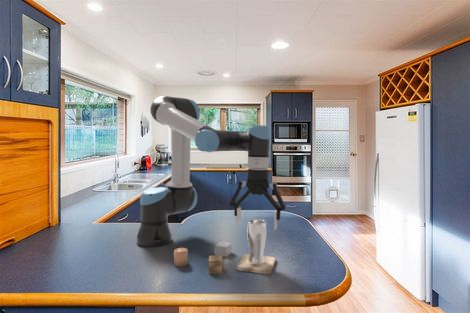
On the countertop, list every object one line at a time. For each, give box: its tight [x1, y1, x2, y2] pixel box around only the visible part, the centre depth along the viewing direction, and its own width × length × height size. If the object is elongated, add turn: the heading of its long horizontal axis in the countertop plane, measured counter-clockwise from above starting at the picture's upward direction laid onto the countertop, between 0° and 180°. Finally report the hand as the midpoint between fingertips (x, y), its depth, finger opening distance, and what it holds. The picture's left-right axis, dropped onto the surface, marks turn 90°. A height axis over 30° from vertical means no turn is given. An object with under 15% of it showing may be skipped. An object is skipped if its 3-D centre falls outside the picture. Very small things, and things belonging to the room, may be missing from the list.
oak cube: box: [208, 255, 223, 275], centre depth 101 cm, size 4×4×4 cm
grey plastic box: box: [214, 240, 233, 258], centre depth 116 cm, size 5×5×4 cm
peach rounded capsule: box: [173, 247, 189, 267], centre depth 106 cm, size 5×5×5 cm
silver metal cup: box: [246, 218, 267, 265], centre depth 105 cm, size 7×7×15 cm
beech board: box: [236, 253, 276, 275], centre depth 105 cm, size 12×12×1 cm
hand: (256, 226), depth 105 cm, fingers open, 13 cm apart
